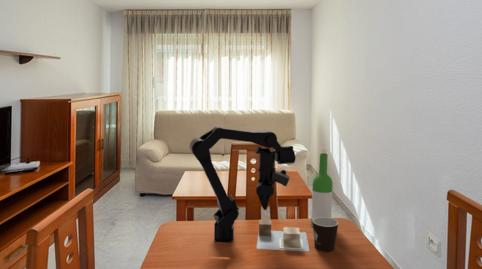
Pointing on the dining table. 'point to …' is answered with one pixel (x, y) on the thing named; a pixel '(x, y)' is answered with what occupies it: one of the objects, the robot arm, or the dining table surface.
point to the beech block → (291, 237)
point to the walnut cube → (264, 227)
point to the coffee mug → (325, 233)
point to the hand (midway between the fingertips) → (265, 205)
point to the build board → (280, 242)
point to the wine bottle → (322, 191)
